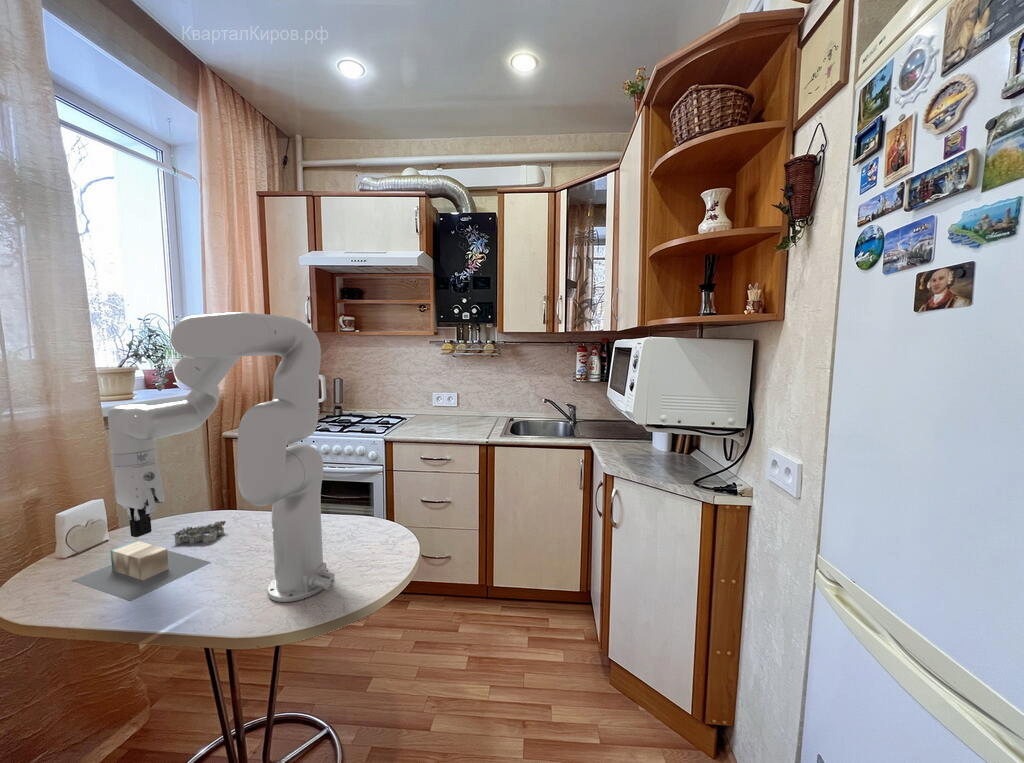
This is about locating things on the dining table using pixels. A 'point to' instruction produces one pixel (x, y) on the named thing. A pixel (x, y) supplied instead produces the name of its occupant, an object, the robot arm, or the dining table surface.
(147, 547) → the birch block
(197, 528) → the grey jagged stone ring
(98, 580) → the rubber mat
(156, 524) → the dining table surface
